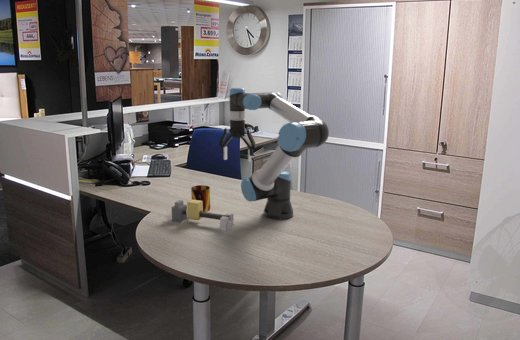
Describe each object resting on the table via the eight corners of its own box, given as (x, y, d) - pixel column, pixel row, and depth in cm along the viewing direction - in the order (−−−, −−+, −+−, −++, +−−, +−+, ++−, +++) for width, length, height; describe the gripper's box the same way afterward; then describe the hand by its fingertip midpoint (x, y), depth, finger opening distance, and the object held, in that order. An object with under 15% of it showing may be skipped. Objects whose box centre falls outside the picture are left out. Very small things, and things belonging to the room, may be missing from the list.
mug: (199, 216, 228) (198, 193, 225) (189, 208, 239) (188, 186, 236) (216, 213, 232) (216, 190, 229) (205, 205, 244) (205, 184, 241)
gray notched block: (233, 224, 216) (233, 213, 215) (226, 230, 209) (225, 218, 207) (228, 223, 217) (228, 212, 216) (220, 229, 210) (220, 218, 208)
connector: (187, 218, 224) (186, 200, 222) (180, 222, 219) (180, 203, 217) (178, 216, 226) (177, 199, 224) (172, 220, 221) (171, 202, 218)
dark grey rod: (229, 220, 214) (229, 213, 213) (226, 223, 211) (226, 216, 210) (178, 212, 224) (178, 206, 223) (174, 215, 221) (174, 208, 220)
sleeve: (203, 217, 220) (202, 200, 218) (198, 220, 216) (198, 203, 214) (192, 215, 222) (191, 199, 220) (187, 218, 218) (187, 201, 216)
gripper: (263, 119, 224) (262, 161, 229) (218, 116, 233) (219, 157, 238) (257, 121, 217) (257, 164, 222) (211, 118, 226) (212, 159, 231)
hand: (237, 160), depth 230 cm, fingers open, 13 cm apart
